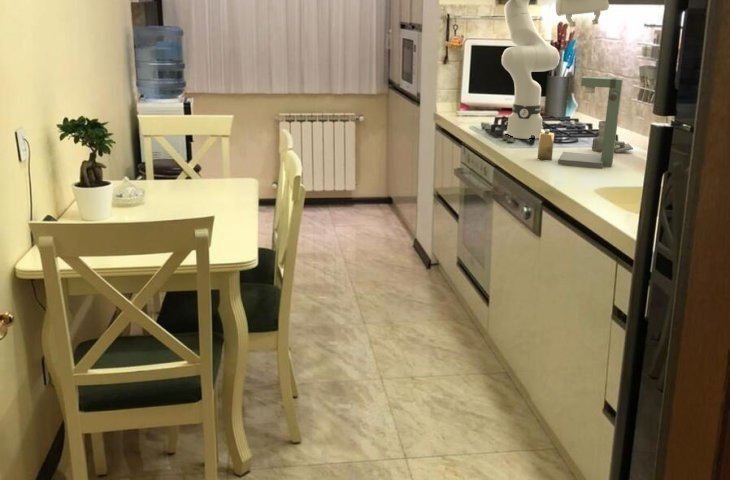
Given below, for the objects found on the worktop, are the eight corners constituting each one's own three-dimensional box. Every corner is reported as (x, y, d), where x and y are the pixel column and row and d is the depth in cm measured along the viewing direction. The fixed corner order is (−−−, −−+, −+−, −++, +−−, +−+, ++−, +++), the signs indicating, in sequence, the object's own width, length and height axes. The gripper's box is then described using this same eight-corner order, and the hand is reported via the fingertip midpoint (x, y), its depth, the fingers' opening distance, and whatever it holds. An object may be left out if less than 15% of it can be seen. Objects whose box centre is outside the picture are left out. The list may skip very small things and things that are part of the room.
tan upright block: (538, 156, 293) (541, 127, 289) (552, 158, 291) (555, 128, 287) (536, 159, 288) (539, 130, 285) (550, 161, 287) (553, 131, 283)
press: (562, 156, 294) (571, 73, 283) (613, 161, 288) (623, 76, 277) (555, 167, 277) (564, 80, 266) (609, 172, 270) (620, 83, 260)
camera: (594, 119, 306) (632, 121, 304) (590, 148, 310) (628, 149, 308) (597, 123, 298) (636, 125, 296) (594, 152, 302) (632, 154, 300)
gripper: (601, -13, 284) (604, 24, 286) (552, -8, 280) (555, 29, 282) (610, -17, 278) (613, 21, 280) (560, -12, 274) (563, 26, 276)
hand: (584, 25), depth 281 cm, fingers open, 8 cm apart
